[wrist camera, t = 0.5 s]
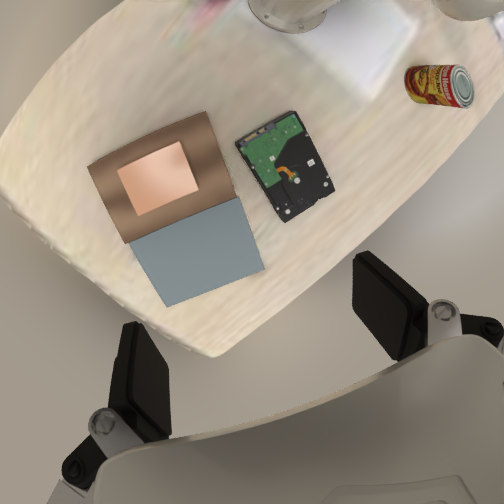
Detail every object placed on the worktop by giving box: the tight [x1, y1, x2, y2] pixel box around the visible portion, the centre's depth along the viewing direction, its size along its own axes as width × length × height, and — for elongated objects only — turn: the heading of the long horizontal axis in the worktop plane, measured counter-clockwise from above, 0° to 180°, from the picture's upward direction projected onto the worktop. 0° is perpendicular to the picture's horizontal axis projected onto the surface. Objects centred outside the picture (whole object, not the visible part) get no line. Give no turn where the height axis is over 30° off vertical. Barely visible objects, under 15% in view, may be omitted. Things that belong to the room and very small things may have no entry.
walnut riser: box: [87, 111, 237, 244], centre depth 37 cm, size 13×18×3 cm
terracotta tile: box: [117, 141, 199, 216], centre depth 34 cm, size 7×9×2 cm
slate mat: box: [129, 196, 265, 307], centre depth 45 cm, size 14×19×1 cm
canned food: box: [404, 65, 475, 109], centre depth 33 cm, size 8×8×12 cm
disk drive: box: [235, 111, 335, 223], centre depth 41 cm, size 10×3×15 cm
